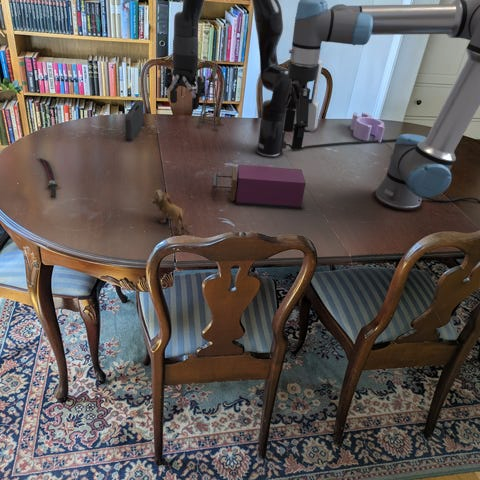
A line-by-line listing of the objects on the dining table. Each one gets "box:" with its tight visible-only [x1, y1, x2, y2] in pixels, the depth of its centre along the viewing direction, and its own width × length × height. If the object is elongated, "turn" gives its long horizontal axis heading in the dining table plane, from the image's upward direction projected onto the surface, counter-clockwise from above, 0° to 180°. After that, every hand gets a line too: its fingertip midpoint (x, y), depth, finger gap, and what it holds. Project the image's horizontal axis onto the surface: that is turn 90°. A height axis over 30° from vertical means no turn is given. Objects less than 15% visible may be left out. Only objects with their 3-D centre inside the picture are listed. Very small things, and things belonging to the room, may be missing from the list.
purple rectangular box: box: [235, 164, 307, 210], centre depth 150 cm, size 21×10×9 cm, turn 91°
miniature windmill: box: [197, 54, 221, 131], centre depth 198 cm, size 9×8×30 cm
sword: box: [40, 158, 59, 198], centre depth 151 cm, size 31×3×1 cm, turn 26°
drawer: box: [212, 167, 237, 202], centre depth 150 cm, size 26×9×7 cm, turn 91°
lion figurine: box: [149, 189, 191, 236], centre depth 131 cm, size 15×5×9 cm, turn 50°
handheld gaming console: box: [124, 99, 145, 141], centre depth 189 cm, size 23×3×10 cm, turn 178°
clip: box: [349, 112, 386, 143], centre depth 214 cm, size 20×12×7 cm, turn 11°
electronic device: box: [293, 59, 324, 133], centre depth 207 cm, size 12×8×30 cm, turn 71°
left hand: (184, 105), depth 146 cm, fingers open, 8 cm apart
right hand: (291, 139), depth 136 cm, fingers open, 13 cm apart
